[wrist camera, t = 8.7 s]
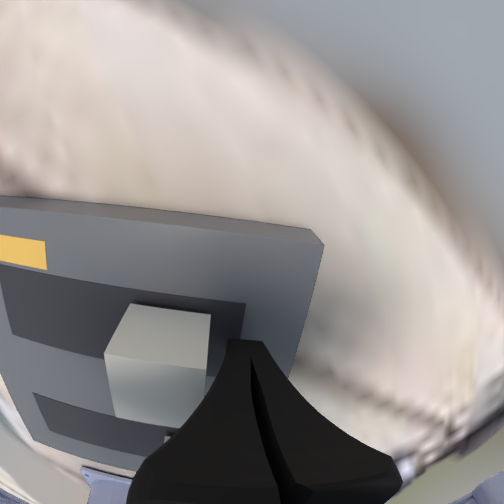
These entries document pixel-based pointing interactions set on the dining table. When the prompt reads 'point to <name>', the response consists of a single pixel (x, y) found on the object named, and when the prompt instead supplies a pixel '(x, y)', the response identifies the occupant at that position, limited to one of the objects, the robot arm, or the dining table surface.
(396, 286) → the dining table surface
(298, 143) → the dining table surface
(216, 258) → the switch box
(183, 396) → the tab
